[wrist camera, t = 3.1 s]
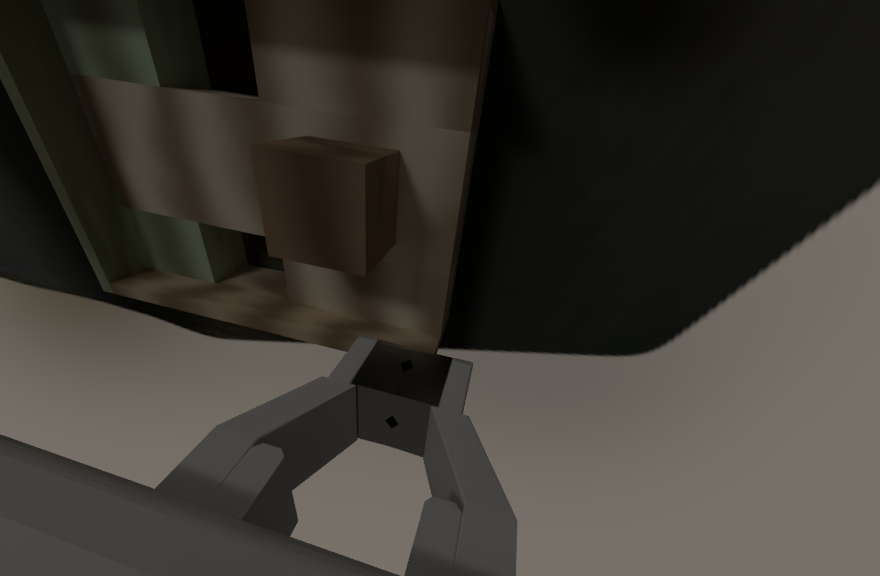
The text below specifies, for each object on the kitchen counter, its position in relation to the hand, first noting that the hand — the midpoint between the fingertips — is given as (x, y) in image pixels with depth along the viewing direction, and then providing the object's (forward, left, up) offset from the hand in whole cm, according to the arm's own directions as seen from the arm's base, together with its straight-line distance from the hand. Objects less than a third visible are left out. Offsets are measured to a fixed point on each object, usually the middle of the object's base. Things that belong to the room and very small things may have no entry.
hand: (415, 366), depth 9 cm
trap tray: (-15, 0, -18) cm, 23 cm away
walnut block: (-8, 0, -14) cm, 16 cm away
